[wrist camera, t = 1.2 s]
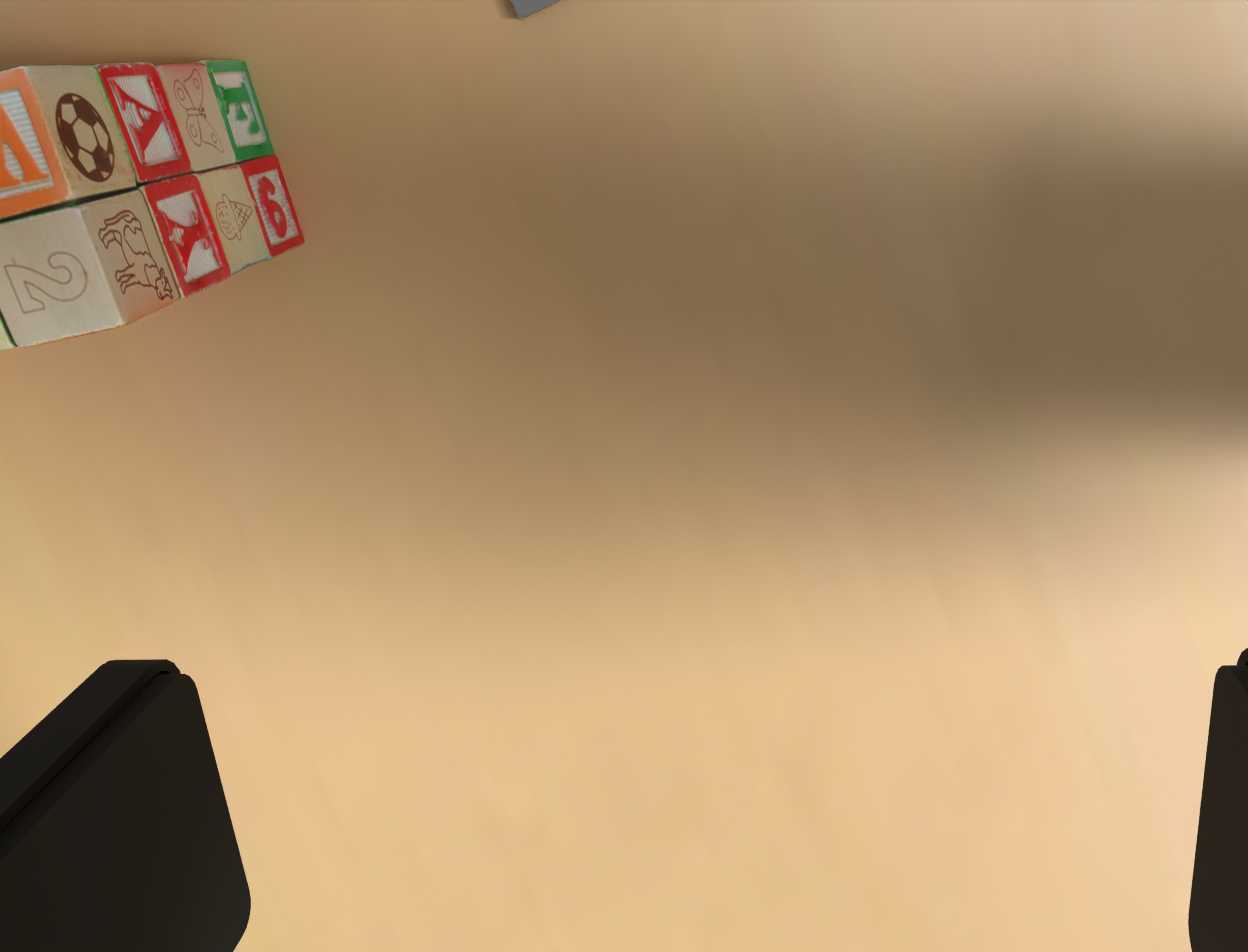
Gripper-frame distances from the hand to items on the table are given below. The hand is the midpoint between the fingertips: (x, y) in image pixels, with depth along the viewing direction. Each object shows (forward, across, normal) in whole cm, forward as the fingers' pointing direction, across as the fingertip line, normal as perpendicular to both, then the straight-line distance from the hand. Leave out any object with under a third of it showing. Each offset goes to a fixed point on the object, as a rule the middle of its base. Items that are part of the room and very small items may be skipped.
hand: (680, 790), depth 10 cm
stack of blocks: (+29, +26, -3) cm, 39 cm away
